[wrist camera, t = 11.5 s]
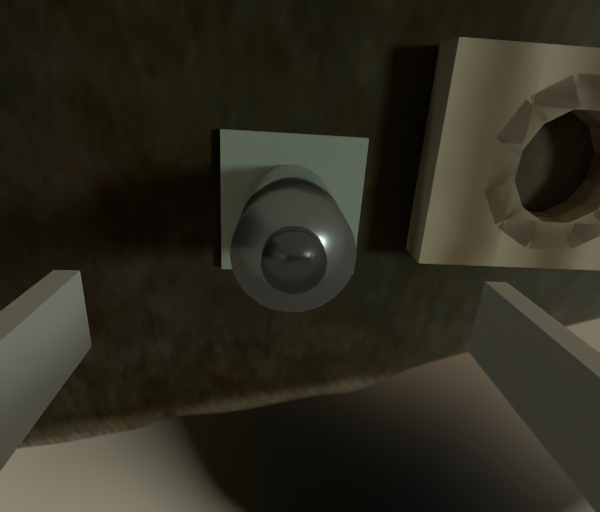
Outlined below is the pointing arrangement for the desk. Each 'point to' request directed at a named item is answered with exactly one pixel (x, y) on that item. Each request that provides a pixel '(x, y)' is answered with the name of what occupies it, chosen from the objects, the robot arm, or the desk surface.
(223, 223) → the mat
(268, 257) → the gray knobbed peg
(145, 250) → the desk surface
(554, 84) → the housing
